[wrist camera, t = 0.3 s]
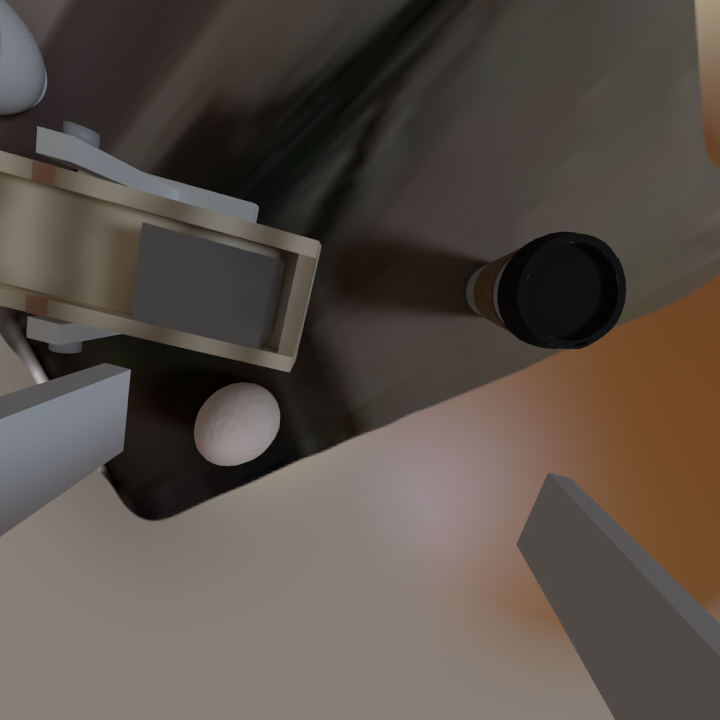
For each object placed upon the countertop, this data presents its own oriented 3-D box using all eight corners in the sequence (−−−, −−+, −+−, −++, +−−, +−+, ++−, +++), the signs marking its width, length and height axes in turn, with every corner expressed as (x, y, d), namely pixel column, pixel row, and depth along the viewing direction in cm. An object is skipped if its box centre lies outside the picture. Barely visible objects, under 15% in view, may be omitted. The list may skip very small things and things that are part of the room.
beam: (-180, 249, 25) (-274, 243, 21) (-191, 102, 23) (-298, 65, 19) (295, 360, 30) (289, 372, 26) (321, 246, 28) (319, 240, 24)
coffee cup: (461, 336, 38) (521, 366, 24) (448, 262, 37) (503, 244, 22) (535, 318, 38) (642, 338, 23) (524, 242, 36) (633, 211, 21)
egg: (210, 407, 41) (152, 452, 29) (249, 358, 39) (204, 386, 28) (262, 447, 42) (224, 505, 30) (302, 401, 40) (278, 444, 29)
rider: (169, 312, 26) (131, 319, 21) (180, 233, 25) (142, 222, 20) (271, 337, 27) (257, 349, 22) (287, 262, 26) (276, 258, 21)
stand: (78, 310, 38) (-81, 323, 25) (91, 158, 35) (-85, 74, 21) (232, 350, 39) (160, 384, 25) (259, 204, 36) (193, 153, 22)
